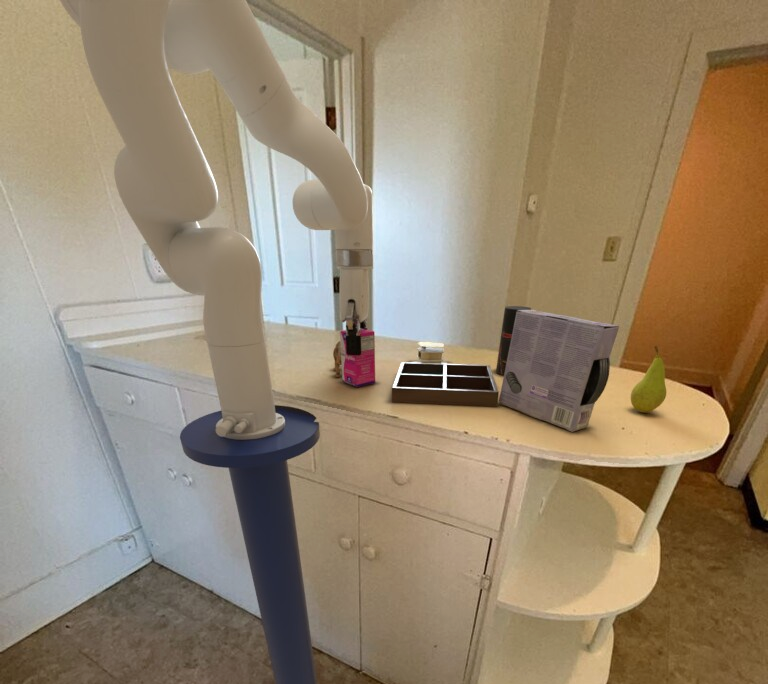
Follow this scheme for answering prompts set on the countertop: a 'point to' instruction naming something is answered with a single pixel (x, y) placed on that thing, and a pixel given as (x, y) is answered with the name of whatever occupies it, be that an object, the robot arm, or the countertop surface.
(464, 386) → the grid
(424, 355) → the stacked layers on plate
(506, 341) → the deodorant
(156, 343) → the countertop surface
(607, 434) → the countertop surface
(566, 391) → the cake pan box
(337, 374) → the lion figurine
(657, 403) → the fruit
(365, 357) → the supplement box
